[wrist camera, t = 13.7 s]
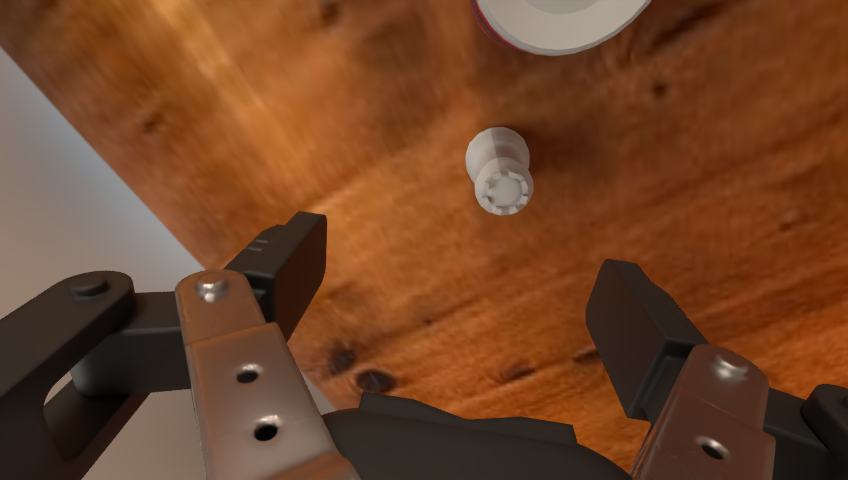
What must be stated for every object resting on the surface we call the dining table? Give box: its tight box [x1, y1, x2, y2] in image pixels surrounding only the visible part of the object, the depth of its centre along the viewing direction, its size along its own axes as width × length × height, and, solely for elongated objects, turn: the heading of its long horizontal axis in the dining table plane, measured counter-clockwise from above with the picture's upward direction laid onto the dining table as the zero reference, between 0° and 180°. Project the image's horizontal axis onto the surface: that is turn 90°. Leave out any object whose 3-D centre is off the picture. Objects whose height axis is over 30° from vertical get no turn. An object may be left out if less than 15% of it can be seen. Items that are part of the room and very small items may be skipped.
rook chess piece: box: [465, 127, 533, 215], centre depth 26 cm, size 4×4×8 cm
